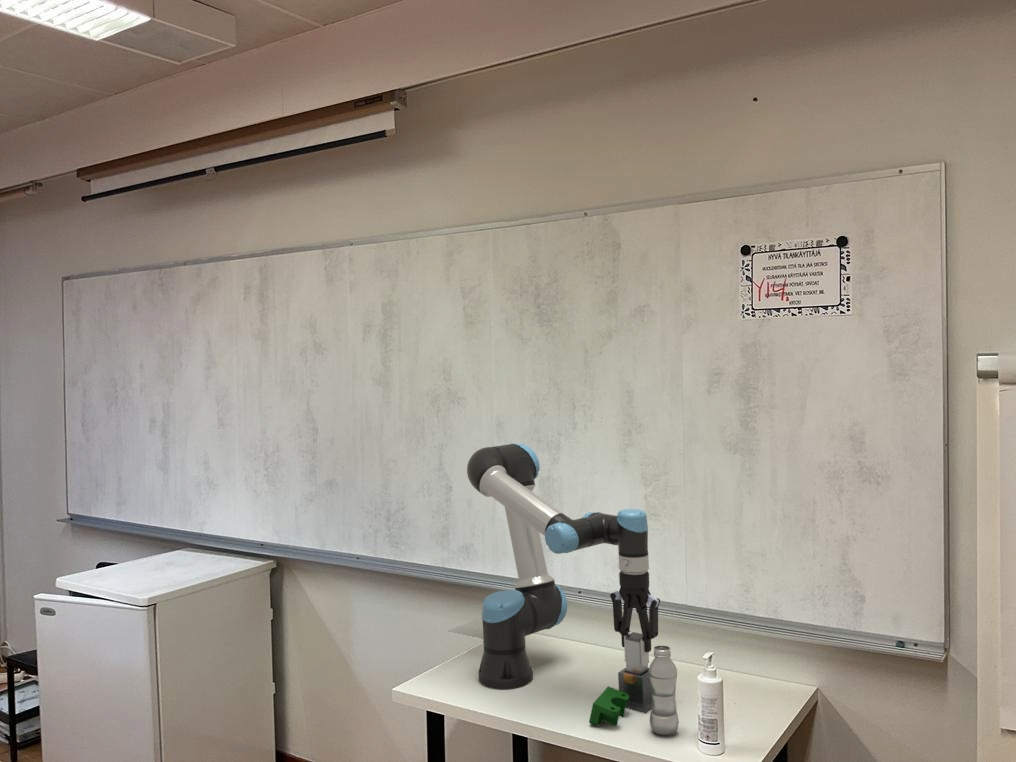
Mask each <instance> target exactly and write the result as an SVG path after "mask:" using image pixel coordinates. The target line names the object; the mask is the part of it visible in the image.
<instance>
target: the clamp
mask: <svg viewBox="0 0 1016 762" xmlns="http://www.w3.org/2000/svg"><path fill="white" fill-rule="evenodd" d="M628 700H629V695H628V694H626V693H624V692H621V691H619V689H616V688H614V687H610V685H609V686H607V687H606V688H605V689H604V690H603V691H602V692H601V693H600V695H599V696H598V697H597V698H596V699H595V701H594V702H593V703H592V707H591V711H590V716H589V722H588V723H589V724H591V725H594V726H595V727H599V726H600V724H601V723H602V722H605V723H608V724H610V725H612V726H614V725H617V726H618V722H619V717H620V716H621V718H624V715H625V711H626V708H625V707H626V704H627V703H628ZM602 720H603V721H602ZM598 725H599V726H598Z"/></svg>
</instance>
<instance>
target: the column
mask: <svg viewBox="0 0 1016 762" xmlns="http://www.w3.org/2000/svg"><path fill="white" fill-rule="evenodd" d="M628 634H629V633H628ZM642 638H643V635H642V633H640V632H635V631H631V633H630V634H629V635H627V636H625V645H626V662H625V665H626V666H625V668H626V673H630V674H634V675H638V676H642V675H643V674H645V673H647V672H648V668H649V663H648V664H646V665H644V666H642V665H641V645H640V640H641V639H642Z"/></svg>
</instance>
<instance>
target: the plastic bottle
mask: <svg viewBox="0 0 1016 762" xmlns="http://www.w3.org/2000/svg"><path fill="white" fill-rule="evenodd" d="M653 656H654V658H653V660H652V661H651V663H650V665H649V666H648V668H649V676H650V682H651V691H652V706H651V710H650V714H649V715H650V716H649V726H650V729H651V730H652V731H653V733H655V734H658V735H662V736H670V735H673V734H675V733H676V732H677V731H678V730H679V729H678V728H679V723H680V721H679V716H678V711H677V703H676V688H677V686H676V685H677V680H678V679H677V678H678V668H677V666H676V664H675V662H674V661H673V660H672V659H671V657H672V654H671V647H670V646H667V645H665V644H664V645H663V644H662V645H660V644H659V645H655V646H654V648H653Z"/></svg>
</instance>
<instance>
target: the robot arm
mask: <svg viewBox="0 0 1016 762" xmlns="http://www.w3.org/2000/svg"><path fill="white" fill-rule="evenodd" d="M467 462H468V463H467V466H466V476H467V478H468V481H469V483H470V484H471V486H472V487H473V488H474V489H475V490H476V491H477V492H479V494H481V495H483V496H484V497H488V498H489V497H491V498H493V499H494V500H495V501H497V502H498V503H499V504H501V505H502V506H503V507H504V510H505V516H506V520H507V525H508V530H509V536H510V541H511V542H510V543H511V547H512V553H513V557H514V562H515V568H516V572H517V573H516V574H517V577H518V580H517V583H515V585H514V589H506V590H499V591H496V592H493V593H490V594H489V595H487V596H486V597H485V598H484V600H483V602H482V612H481V618H482V620H481V621H482V634H483V636H482V639H483V641H482V642H483V654H482V657H481V661H480V665H479V668H478V673H477V675H478V678H477V679H478V682H479V684H481V685H482V686H483V687H487V688H491V689H495V690H511V689H517V688H522V687H524V686H526V685H528V684H529V683H531V682H532V681H533V678H534V675H533V674H534V672H533V668H532V666H531V663H530V660H529V657H528V654H527V650H526V636H530V635H533V634H536V633H539V632H542V631H545V630H550V629H552V628H553V627H555V626H557V625H559V624H561V623H562V622H563V621H564V618H565V617H566V616H567V612H568V599H567V595H566V592H565V591H564V590H563V588H562V587H561V586H560V585H558V584H556V583H555V579H554V577H552V576H551V575H550V574H549V573H548V569H547V563H546V559H545V553H544V549H543V544H542V539H541V535H542V536H544V540H545V541H544V542H545V545H546V546H547V547H548V550H550V552H552V553H553V554H558V555H559V554H569V553H572V552H575V551H578V550H582V549H583V550H584V549H585V548H590V547H594V546H598V545H601V544H602V545H603V544H606V545H613V546H617V547H618V548H617V549H618V551H617V552H618V569H619V573H618V576H619V577H618V578H619V579H618V581H619V587H620V588H619V590H618V591H616V590H615V591H614V592H612V593H610V594H609V595H610V599H611V601H612V613H613V615H612V616H613V627H614V628H613V629H614V632H618V633H620V635H621V646H622V648H624V662H625V663H626V645H625V636H627V635H629V634H631V633H630V632H631V630H630V628H631V621H632V616H633V610H634V609H635V611H636V613H637V615H638V620H639V625H640V630H641V634H642V635H643V638H642V639H641V640H640V645H641V665H642V666H644V665H646V664H648V665H649V663H650V654H649V653H650V652H651V651H652V640H653V639H655V638H657V637H658V636H659V608H660V607H659V606H660V604H661V599H660V598H654V597H653V596H652V595H651V592H650V573H649V569H650V564H649V543H648V542H649V525H648V517H647V516H648V515H647V513H646V512H645V510H642V509H638V508H627V509H619V511H618V512H617V514H616V515H614V514H607V513H603V512H600V511H599V512H598V511H596V512H591V511H590V512H587V513H585V514H584V515H583V516H582V517H580V518H576V519H572V518H571V517H569V516H567V515H566V514H565V513H563V512H561V511H560V510H559V509H557V508H556V507H555V506H553V505H551V504H550V503H548V502H547V501H546V500H545V499H543V498H542V497H540V496H539V495H537V493H534V492H533V490H534V489H535V487H536V482H535V480H536V479H537V477H538V476H539V472H540V470H541V469H540V460H539V458H538V456H537V454H536V452H535V451H534V450H533V448H531V447H530V446H528V445H527V444H525V443H509V444H503V445H495V446H486V447H482V448H480V449H478V450H476V451H475V452H474V453H473V454H472V455H471V456H470V458H469V460H468V461H467ZM622 600H623V601H622ZM622 602H623V604H622ZM648 602H649V603H648ZM647 603H648V606H649V608H648V606H647ZM648 611H649V612H648Z"/></svg>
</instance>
